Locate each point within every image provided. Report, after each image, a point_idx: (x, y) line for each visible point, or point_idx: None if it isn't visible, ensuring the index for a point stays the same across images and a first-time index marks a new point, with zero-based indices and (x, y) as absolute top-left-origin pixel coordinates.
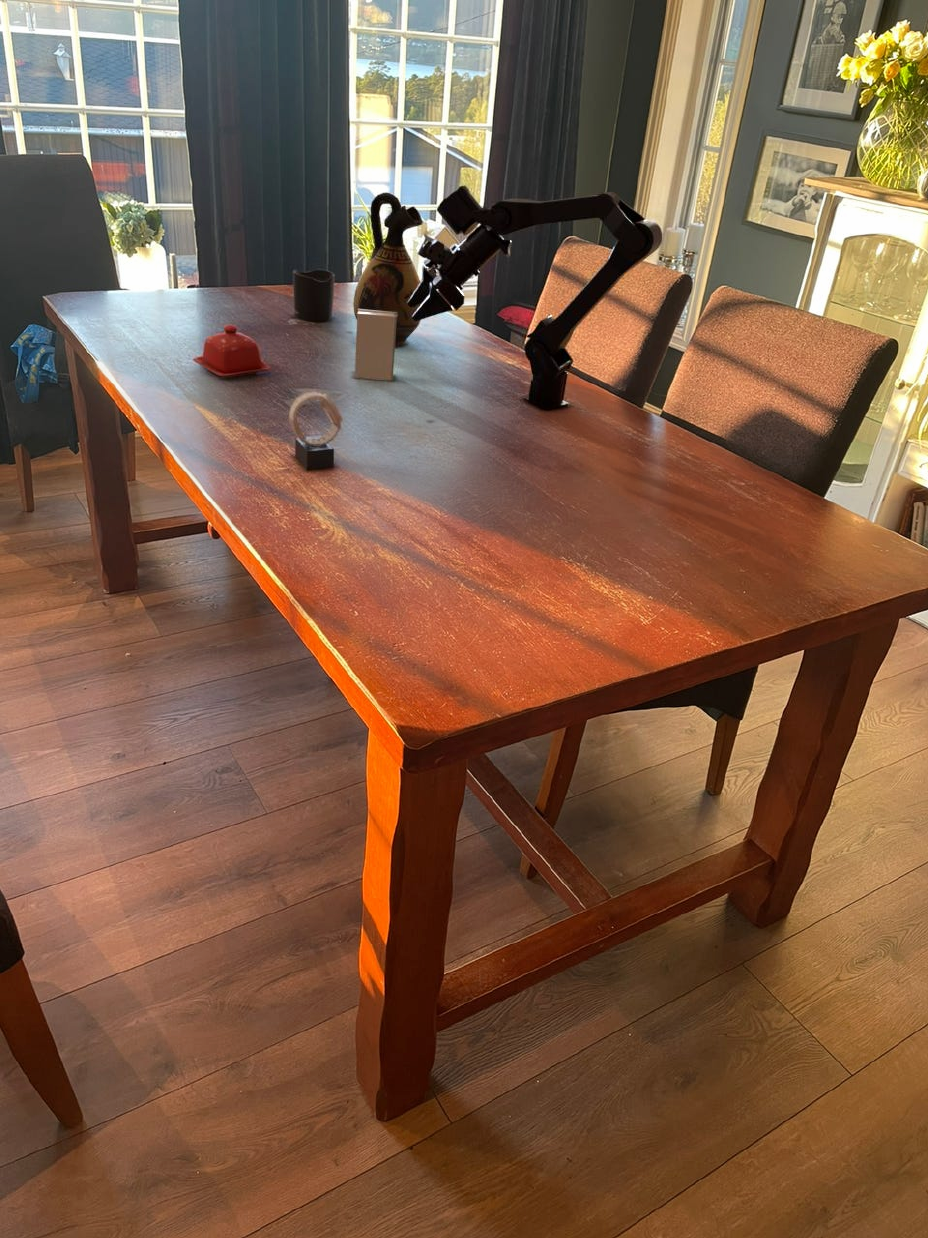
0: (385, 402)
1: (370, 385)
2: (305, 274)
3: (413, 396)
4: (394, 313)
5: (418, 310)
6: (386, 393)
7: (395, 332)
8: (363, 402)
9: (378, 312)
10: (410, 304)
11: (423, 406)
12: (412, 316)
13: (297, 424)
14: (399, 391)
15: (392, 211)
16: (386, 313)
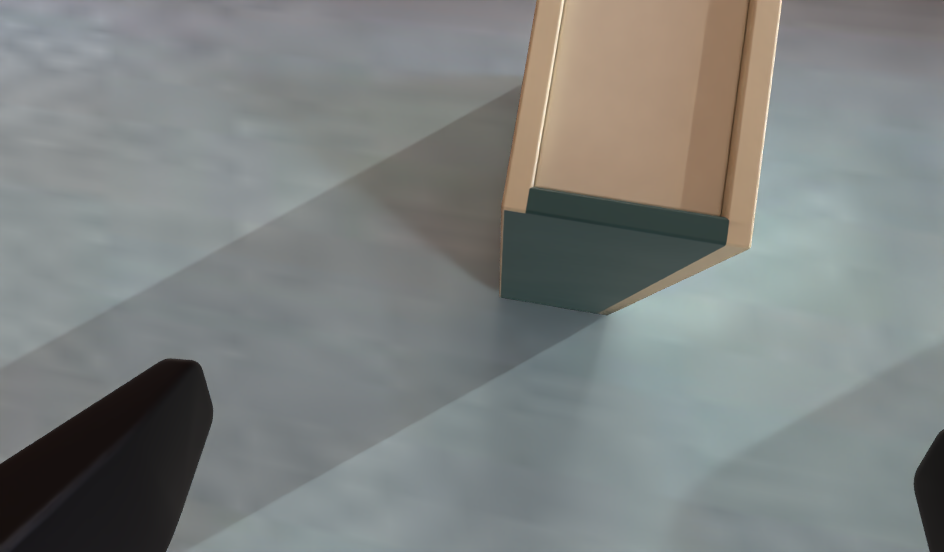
0: (118, 192)
1: (406, 150)
2: None
3: (220, 375)
4: (719, 217)
5: (30, 452)
6: (268, 222)
7: (500, 242)
8: (118, 73)
9: (731, 13)
10: (940, 482)
11: (50, 401)
12: (162, 363)
13: None
14: (307, 306)
15: None
16: (704, 110)
